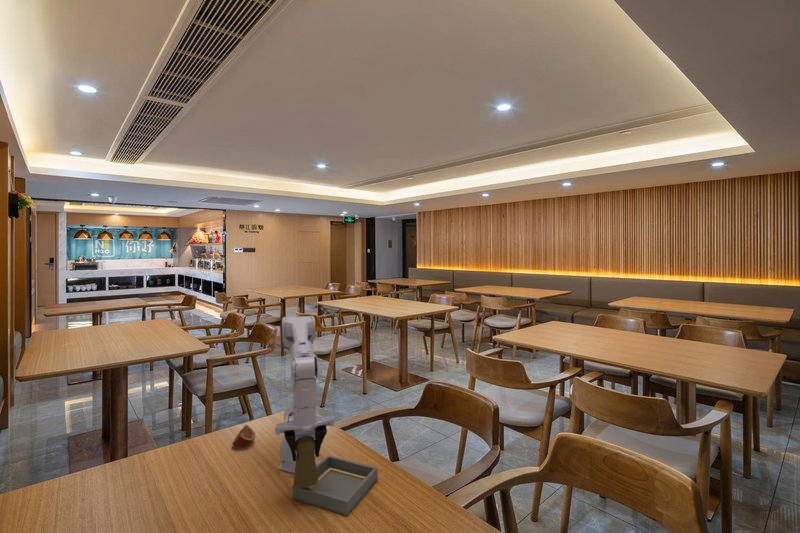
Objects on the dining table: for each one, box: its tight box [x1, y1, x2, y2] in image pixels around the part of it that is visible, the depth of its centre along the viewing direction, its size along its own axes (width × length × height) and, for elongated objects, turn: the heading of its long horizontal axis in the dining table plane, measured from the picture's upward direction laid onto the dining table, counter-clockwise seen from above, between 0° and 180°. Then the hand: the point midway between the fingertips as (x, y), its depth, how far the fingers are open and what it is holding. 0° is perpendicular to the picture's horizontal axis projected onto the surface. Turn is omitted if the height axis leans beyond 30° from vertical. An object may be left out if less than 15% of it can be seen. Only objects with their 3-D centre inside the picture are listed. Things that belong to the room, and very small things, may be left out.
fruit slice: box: [232, 424, 256, 448], centre depth 129 cm, size 8×7×5 cm
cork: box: [293, 436, 318, 488], centre depth 102 cm, size 6×6×11 cm
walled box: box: [292, 454, 379, 517], centre depth 106 cm, size 16×16×4 cm
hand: (305, 457), depth 102 cm, fingers closed on cork, 5 cm apart
